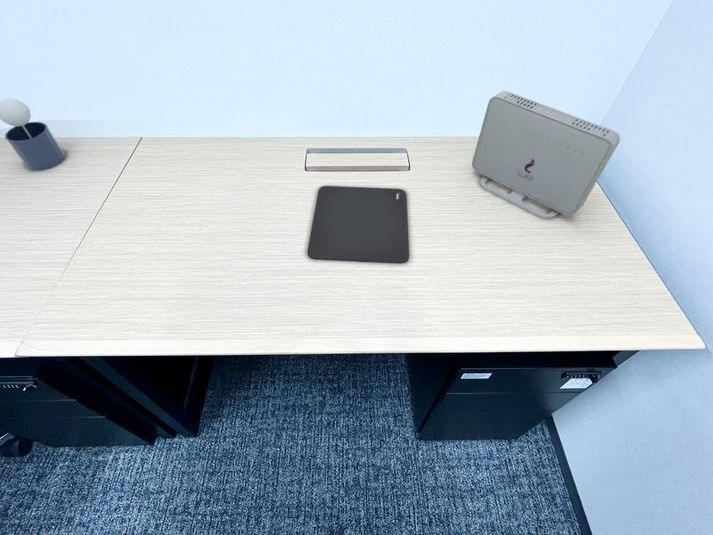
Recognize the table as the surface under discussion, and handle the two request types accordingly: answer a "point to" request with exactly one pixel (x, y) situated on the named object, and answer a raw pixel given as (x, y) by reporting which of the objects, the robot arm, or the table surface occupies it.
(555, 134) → the network device
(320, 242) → the mouse pad
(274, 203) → the table surface
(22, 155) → the cup
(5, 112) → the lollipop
